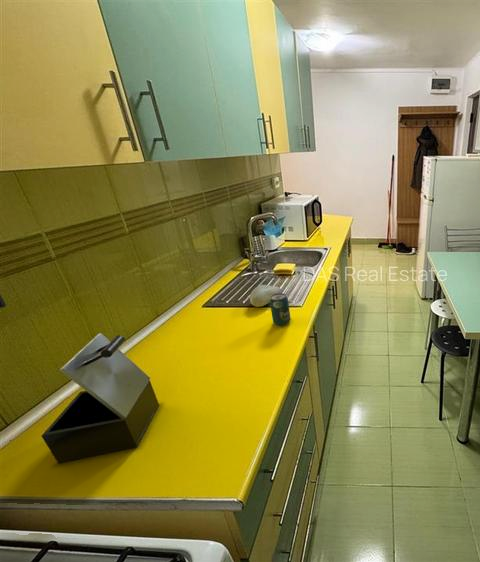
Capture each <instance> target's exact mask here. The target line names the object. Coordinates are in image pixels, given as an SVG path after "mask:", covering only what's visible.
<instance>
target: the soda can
mask: <svg viewBox="0 0 480 562" xmlns="http://www.w3.org/2000/svg"><path fill="white" fill-rule="evenodd" d="M269 306H270V312H271V318H272V322H273V324H274V325H275V326H276V327H285V326H287V325H289V324H290V322H291V319H292V318H291V313H290V304H289V298H288V297H287V294H285V293H282V292H279V294H275V295H272V296H271V300H270V303H269Z"/></svg>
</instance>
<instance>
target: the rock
mask: <svg viewBox="0 0 480 562" xmlns="http://www.w3.org/2000/svg"><path fill="white" fill-rule="evenodd" d="M281 290H282V289H281V288H280V286H276V285H270V284H261V285H257V286H256V287H255V288H253V290H252V291H251V292H250V294H249V302H250V304H251V305H252V306H253V307H256V308H260V307H264V306H267V305H268V304H270V300H271V296H272V295H275V294H280V293H281Z"/></svg>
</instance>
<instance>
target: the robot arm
mask: <svg viewBox="0 0 480 562" xmlns="http://www.w3.org/2000/svg"><path fill="white" fill-rule="evenodd" d="M5 307H7V304H6V302H5V300H4V298H3V297H2V295H1V294H0V309H2V308H5Z"/></svg>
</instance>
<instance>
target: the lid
mask: <svg viewBox="0 0 480 562" xmlns="http://www.w3.org/2000/svg"><path fill="white" fill-rule="evenodd" d="M125 341H126V337H125V336H123V335H121V334H119V335H116V336H115V337H114V338H113V339H112V340H110V339H108V338H107V337H106V336H105V335H104V334H103V333H101V332H100V333H97V334H96V335H95V336H94V337H92V339H91V340H90V341H89V342H87V344H86V345H84V346H83V347H82V348H81V349H80V350H79V351H78V352H77V353H76V354H75V355H74V356H73V357H72V358H70V360H68V361H67V362H66V363H65V364H64V365H63V366H62V367H61V368H60V369H59V371H60V372H61V373H62V374H64V375H65V376H67V377H68V378H69V379H70V380H71V381H73V382H74V383H75V384H76V385H78V386H79V387H80V388H81V389H82V390H83V391H87V392H88V393H89V394H91V395H92V396H93V397H95V398H96V399H97V400H98V401H100V402H101V403H102V404H104V405H105V406H106V407H107V408H109V409H110V410H111V411H113V412H114V413H115V414H116V415H118V416H119V417H120V418H122V419H124V418H126V417H127V415H128V414H129V412H130V410H131V409H132V407H133V406H134V404H135V402H136V401H137V399H138V397H139V396H140V394H141V393H142V391H143V389H144V388H145V386H146V385H147V383H148V381H149V380H150V381H151V377H150V376H149V375H148V374H146V372H144V371H143V370H142V369H141V368H140V367H139V366H138V365H137V364H136V363H135V362H133V360H132V359H130V358H129V357H128V356H127V355H126V354H124V353H123V351H122V350H121V349H119V348H120V347H121V346H122V345H123V343H124V342H125Z"/></svg>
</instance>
